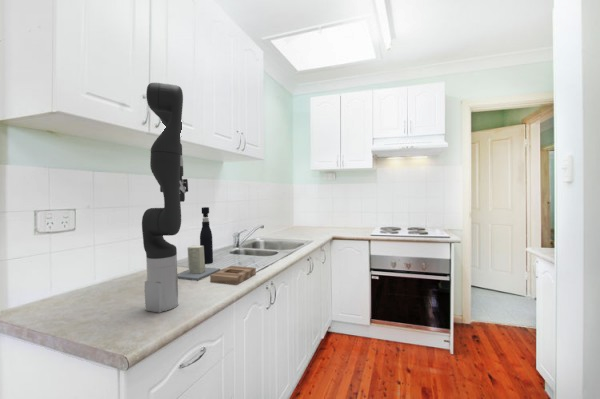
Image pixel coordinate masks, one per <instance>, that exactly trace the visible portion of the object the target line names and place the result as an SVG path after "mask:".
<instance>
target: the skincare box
mask: <svg viewBox="0 0 600 399" xmlns="http://www.w3.org/2000/svg"><path fill="white" fill-rule="evenodd" d="M187 262H188V270H189V273H202V272H204V271H205V268H206V266H205V265H206V264H205V259H204V246H200V245H191V246H190V245H189V246H188V247H187Z"/></svg>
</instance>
